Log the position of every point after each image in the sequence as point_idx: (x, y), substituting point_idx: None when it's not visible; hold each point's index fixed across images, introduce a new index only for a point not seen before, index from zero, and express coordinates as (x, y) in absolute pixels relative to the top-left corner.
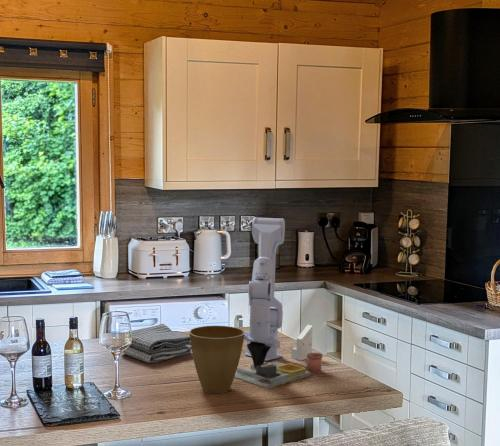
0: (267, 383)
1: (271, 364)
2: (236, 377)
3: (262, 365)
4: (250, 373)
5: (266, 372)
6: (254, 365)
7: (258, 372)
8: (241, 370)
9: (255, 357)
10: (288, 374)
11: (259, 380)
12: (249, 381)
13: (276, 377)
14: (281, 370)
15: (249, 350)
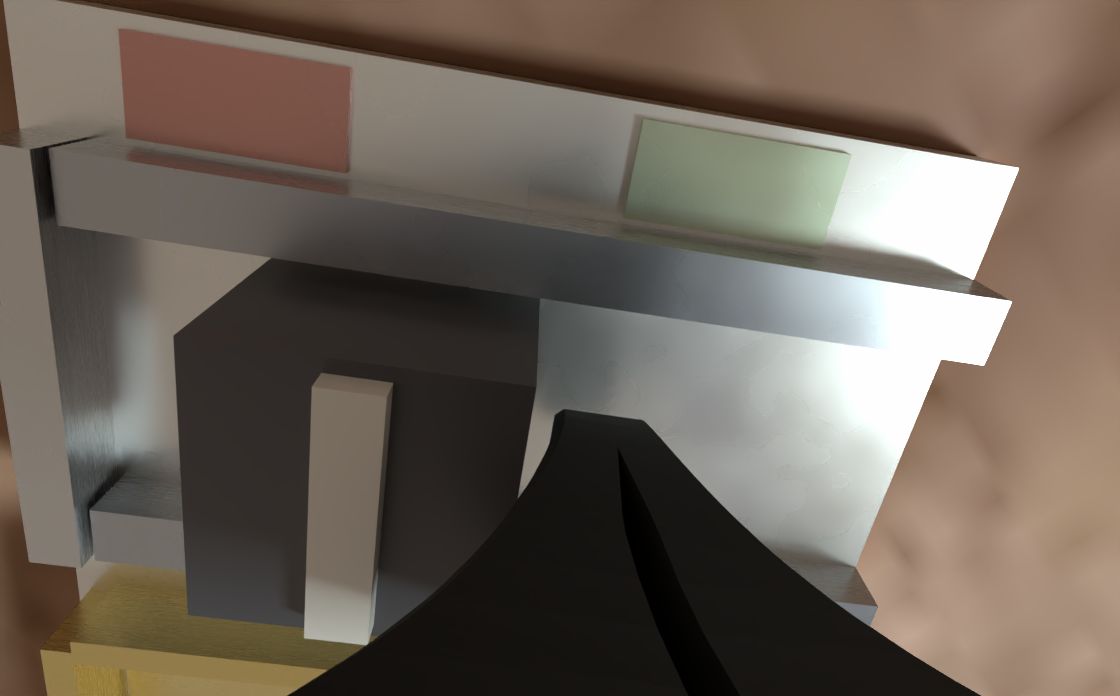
0: (81, 67)
1: (307, 614)
2: (883, 142)
3: (348, 408)
4: (625, 239)
5: (219, 303)
6: (642, 435)
7: (472, 316)
8: (878, 277)
9: (610, 534)
10: (124, 610)
11: (302, 97)
12: (546, 83)
13: (6, 298)
14: (274, 653)
15: (934, 675)
